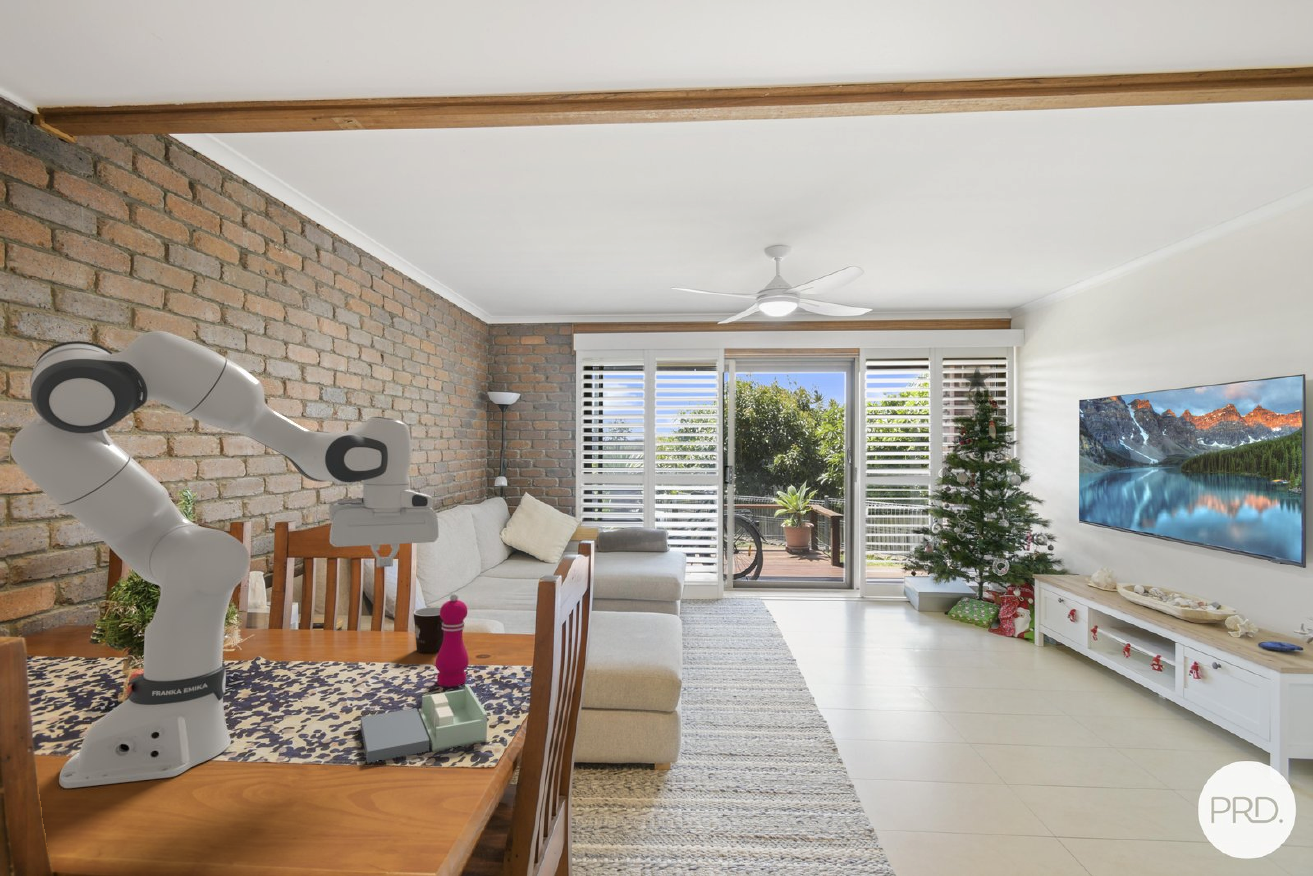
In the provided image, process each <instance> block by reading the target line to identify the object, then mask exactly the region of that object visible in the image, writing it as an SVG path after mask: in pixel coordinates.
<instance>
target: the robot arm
mask: <svg viewBox="0 0 1313 876" xmlns="http://www.w3.org/2000/svg"><path fill="white" fill-rule="evenodd" d="M29 384H30V385H29V387H30V400H31V404H32V406H33V408H34V409H35V411H36V412H37V414H38V417H37V418H35V419H34V420H32V421H31V422H30V423H28V424H26V425H25V426H23V428H21V429H20V430H19V431H18V432H17V433H16V435H15V436H14V437H13V439H12V441H11V443H10V445H9V451H10V455H11V458H12V459H13V461H14V462H15V463H16V464H17V465H18V467H19V468H20V470H22V472H24V474H25V475H26V476H27V478H29V479H30V480H31V481H32V483H34V484H35V485H36V487H38V488H39V489H40V490H41V491H42V492H43V493H44V494H45V495H46V496H47V497H48V498H50V499H51V500H53V502H55V503H56V504H57V505H59V506H60V507H61V508H63V510H65V511H66V512H68V513H69V514H70V515H71V516H73V517H74V518H75V519H77V520H78V521H79V522H80V523H81V524H83V525H84V526H85V527H86V528H88V529H89V530H90V531H91V532H93V533H94V534H95V535H96V536H97V537H99V538H100V539H101V540H102V541H103V542H104V543H105V544H106V545H107V546H108V547H109V548H110V549H111V550H112V551H113V553H114V554H116V556H118V558H119V559H121V560H122V562H124V563H125V564H126V565H127V566H128V567H129V568H130V569H131V570H132V571H133V572H135V573H136V574H137V575H138V576H139V577H140V578H142V580H144V581H146V582H148V583H150V584H153V585H157V586H159V587H160V596H159V600H158V603H157V607H156V609H155V611H154V612H155V613H154V615H153V618H152V619H151V621H150V622H149V623H148V624H147V626H146V627H145V630H144V640H143V641H144V644H143V645H144V646H143V670H142V669H138V670H135V671H133V672H132V673H131V674H130V676H129V678H128V682H127V688H126V696H127V699H125V700H124V701H123V702H122V703H120V704H119V705H117V706H116V707H114V708H113V709H112V710H111V711H108V713H106V714H105V715H104V716H102V717H101V718H99V719H98V720H97V721H95V723H94V724H93V725H92V726H91V727H90V728H89V730H88V731H87V732H86V734H85V735H84V736H85V737H84V738H83V741H82V744H81V747H80V750H79V751H78V752H77V753H75V754H74V755H72V757H70V758H69V759H68V760H67V761H66V763H65V764H64V765H63V767H62V768H61V770H60V773H59V779H58V782H59V785H60V786H61V787H62V788H64V789H73V788H82V787H84V788H85V787H91V786H92V787H93V786H100V785H111V784H120V783H129V782H139V781H145V780H146V781H147V780H155V779H156V780H157V779H166V778H173V777H176V776H179V775H181V774H182V773H184V772H186V771H187V770H189V769H191V768H192V767H194V766H197V765H199V764H201V763H204V762H206V761H208V760H211V759H213V758H214V757H217V756H218V755H220V754H221V753H223V752H224V751H225V750H226V749H228V747H230V745H231V742H232V738H231V736H230V734H229V733H230V732H229V730H228V726H227V723H226V716H225V710H224V709H225V708H224V696H225V693H226V681H227V679H226V678H227V671H226V663H225V662H224V661H223V657H224V656H223V654H224V634H225V633H224V632H225V622H226V616H227V612H228V609H229V606H230V602H231V599H232V597H233V593H234V591H235V589H236V587H237V586H238V585H239V584H240V583H241V582H242V581H243V580H244V579H245V576H247V573H248V570H249V567H250V562H251V561H250V560H251V559H250V554H249V551H248V549H247V547H246V545H245V544H243V542H241V541H240V540H239V539H237V538H236V537H235V536H233V535H231V534H230V533H228V532H227V531H223V530H220V529H216V528H210V527H209V528H208V527H204V526H200V525H198V524H196V523H194V522H192V521H190V519H188V518H187V517H186V516H184V514H183V513H181V512H182V511H180V510H179V508H178V506H176V505H175V503H174V502H173V501H172V499H171V497H170V496H169V495H170V494H169V491H168V490H167V488H166V487H165V486H164V485H162V483H160V482H159V481H158V480H157V479H156V478H155V477H154V476H153V475H151V474H150V472H148V471H147V469H145V468H144V467H143V466H142V465H141V464H139V463H138V461H137V460H135V459H134V458H133V457H132V456H131V455H129V454H128V453H127V452H126V451H125V450H124V449H122V448H121V447H120V446H119V445H118V444H117V443H116V442H115V441H114V440H113V439H112V437H110V435H109V434H108V432H107V431H106V430H107V429H109V428H111V427H112V426H115V425H116V424H117V423H119V422H120V421H122V420H123V419H125V418H126V417H127V416H129V415H131V413H133V412H135V411H136V410H138V409H139V408H140V407H142V406H144V405H146V403H147V401H149V400H150V401H154V402H157V403H160V404H162V405H165V406H166V407H168V408H171V409H173V410H174V411H177V412H179V413H181V414H184V415H185V416H187V417H189V418H191V419H194V420H196V421H199V422H202V423H203V424H206V425H208V426H211V427H214V428H217V429H222V430H225V431H228V432H232V433H237V434H241V435H243V436H246V437H248V438H250V439H252V440H253V441H256V442H258V443H260V444H262V445H263V446H265V447H267V448H268V449H271V450H273V451H274V452H276V453H278V454H281V456H283V457H284V458H286V459H287V460H288V461H289V462H290V463H291V464H292V465H293V466H294V468H295V469H296V470H297V471H298V472H299V474H300V475H302V476H303V477H304V478H305V479H307V480H311V481H314V482H318V483H319V482H321V483H323V482H330V483H339V484H353V483H354V484H355V483H357V482H363V483H362V486H363V487H362V498H361V497H359V498H349V499H348V498H338V499H337V500H335V501H333V502H332V503H330V505H328V520H330V521H331V525H330V530H329V543H330V545H332V546H333V547H335V548H341V547H360V546H361V547H362V546H363V547H364V546H370V550H371V551H372V554H373V555H374V556H375V558H376V568H387V567H388V568H389V567H393V566H394V558H395V557H396V555H397V553H398V552H399V551H400V545H402V544H404V545H405V544H420V543H421V544H422V543H423V544H424V543H434V542H436V541H437V540H438V538H439V532H440V531H439V522H438V521H439V520H438V515H437V512H436V511H435V509H433V505H434V498H433V497H432V496H431V495H429V494H426V493H424V492H423V493H422V492H420V491H419V490H412V489H411V478H410V474H409V473H410V466H411V465H412V439H411V432H410V431H411V430H410V428H409V426H408V425H407V423H405V422H403V421H401V420H399V419H395V418H391V417H383V416H372V417H370V418H369V419H368V420H367V421H365V422H364V423H362V424H359V425H358V426H356V427H354V428H351V429H349V430H345V431H343V432H329V431H322V430H321V431H319V430H311V429H306V428H304V427H303V426H301V425H299V424H298V423H296V422H294V421H292V420H290V419H289V418H287V417H286V416H284V415H282V414H280V413H278V412H277V411H275V410H273V409H272V408H271V407H269V406H268V405H267V403H266V401H265V390H264V387H263V384H262V383H261V381H259V380H258V378H256V376H254V375H253V374H252V373H250V372H249V371H248V370H246V369H245V368H244V367H242V366H240V365H239V364H238V363H236V362H234V361H233V360H231V359H229V358H227V357H225V356H223V355H221V354H220V353H218V352H216V351H214V350H211V349H210V348H208V347H206V346H204V345H202V344H199V343H197V342H194V341H192V340H190V339H187V338H185V337H182V336H179V335H177V334H174V333H171V332H169V331H164V330H151V331H149V332H145V333H143V334H141V335H139V336H137V337H136V338H135V339H133V340H132V342H130V343H129V344H128V346H127V347H126V348H125V349H123V350H121V351H119V352H115V353H114V352H112V351H111V350H109V349H108V348H106V347H103V346H101V345H99V344H97V343H92V342H89V341H82V340H81V341H79V340H78V341H77V340H75V341H73V340H72V341H66V342H62V343H58V344H56V345H53V346H51V347H49V348H48V349H46V350H45V351H44V352H42V353H41V354H40V356H39V357H38V359H37V361H36V362H35V365H34V367H33V369H32V371H31V373H30V380H29ZM381 545H390V548H391V552H390V554H389V555H388V556H380V554H379V552H378V551H380V547H381Z"/></svg>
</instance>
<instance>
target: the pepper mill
mask: <svg viewBox="0 0 1313 876" xmlns="http://www.w3.org/2000/svg"><path fill="white" fill-rule="evenodd" d="M449 599H450V600H448V601H446V602H444V603H443V604H442V605H441V606H440V607H441V609H440V617H441V619H442V620H443V621H444V622H442V629H443V630H444V637H443V643H442V646H441V648H440V650H439V652H438V653H437V655H436V658H435V663H434V666H435V669H436V670H437V671H438V674H437V677H436V682H437V685H438V686H441V687H444V688H445V687H447V688H448V687H449V688H452V687H458V686H460V685H463V684H465V682H466V681H467V672H466V671H465V670H466V669H467V668H468V666H469V663H470V662H469V658H470V657H469V654H468V651H467V649H466V646H465V643H464V640H463V630H464V629H465V627H466V626H465V623H466V621H464V620H465V619H466V617H467V616H468V607H467V605H466V603H465V602H463V601H462V600H459V594H457V593H452V594H451V595H450V597H449Z"/></svg>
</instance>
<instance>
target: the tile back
mask: <svg viewBox="0 0 1313 876" xmlns="http://www.w3.org/2000/svg"><path fill="white" fill-rule="evenodd" d="M442 693H443V694H438V693H435V694H436V695H432V694H430V695H431V704H430V719H431V722H432V724H433V726H434V728H435V708H440V707H446V706H448V700H447V698H446V696H445V694H444V692H442Z"/></svg>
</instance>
